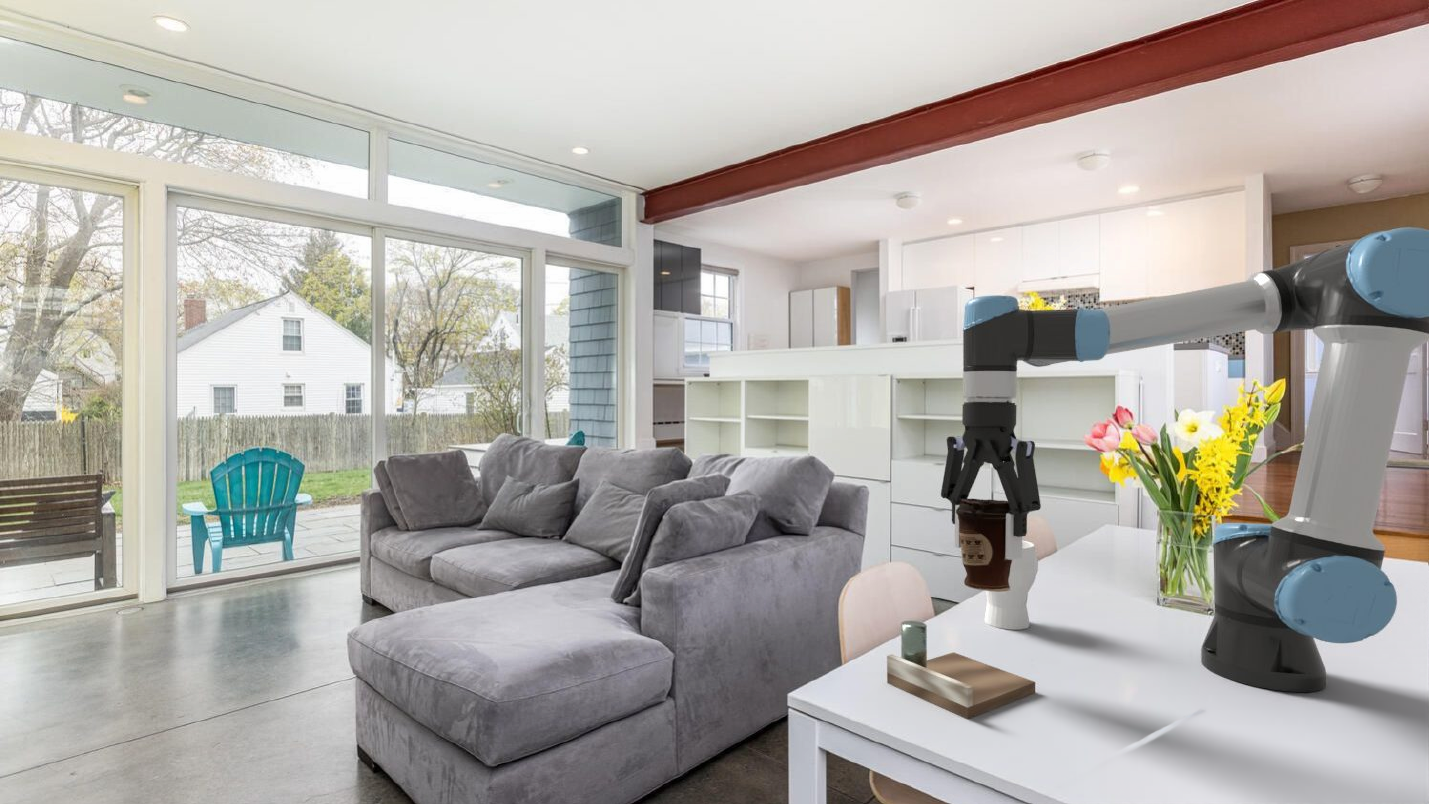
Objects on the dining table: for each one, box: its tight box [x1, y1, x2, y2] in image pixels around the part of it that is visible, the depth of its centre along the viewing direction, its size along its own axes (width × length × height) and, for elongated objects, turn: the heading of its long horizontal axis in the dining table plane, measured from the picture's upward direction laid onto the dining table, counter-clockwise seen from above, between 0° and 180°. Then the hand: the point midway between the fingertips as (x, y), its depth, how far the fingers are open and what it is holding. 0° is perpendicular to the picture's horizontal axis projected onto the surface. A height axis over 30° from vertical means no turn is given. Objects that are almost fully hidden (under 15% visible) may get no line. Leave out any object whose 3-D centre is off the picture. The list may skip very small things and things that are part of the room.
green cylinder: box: [900, 620, 928, 668], centre depth 103 cm, size 4×4×7 cm
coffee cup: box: [956, 498, 1012, 592], centre depth 104 cm, size 9×8×13 cm
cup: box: [984, 539, 1039, 631], centre depth 129 cm, size 11×11×15 cm
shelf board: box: [886, 652, 1036, 720], centre depth 101 cm, size 14×15×4 cm
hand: (987, 551), depth 104 cm, fingers closed on coffee cup, 8 cm apart
